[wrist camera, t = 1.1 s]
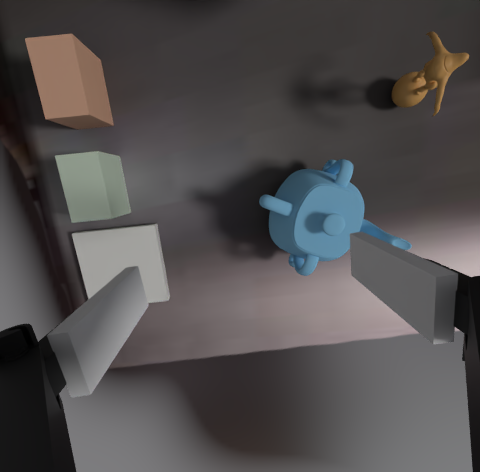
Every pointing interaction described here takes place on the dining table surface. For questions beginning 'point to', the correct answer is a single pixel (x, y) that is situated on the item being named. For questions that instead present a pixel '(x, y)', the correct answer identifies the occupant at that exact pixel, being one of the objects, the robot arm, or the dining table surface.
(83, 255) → the base plate
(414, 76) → the figurine
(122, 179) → the sage brick
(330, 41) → the dining table surface
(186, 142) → the dining table surface
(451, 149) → the dining table surface
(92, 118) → the terracotta brick
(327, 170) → the teapot
